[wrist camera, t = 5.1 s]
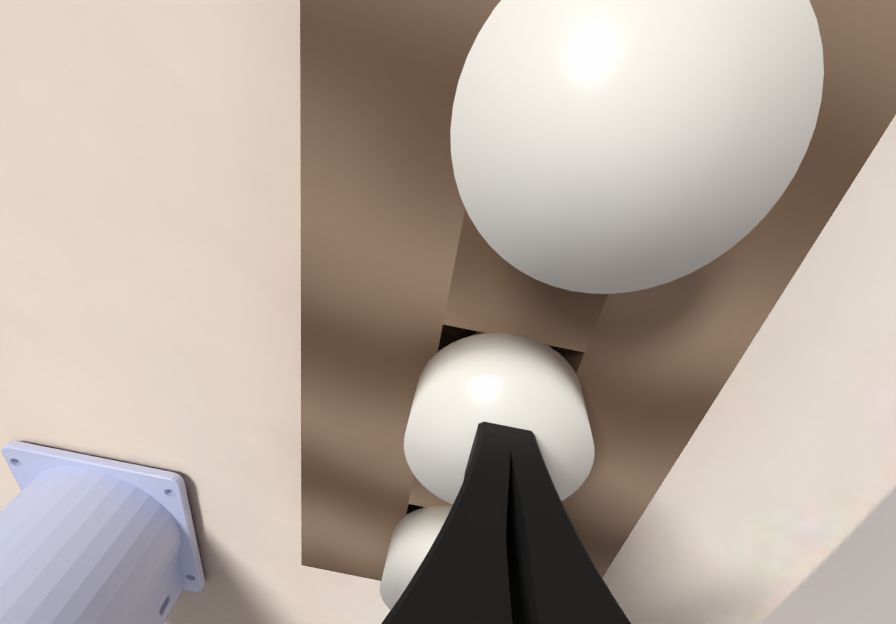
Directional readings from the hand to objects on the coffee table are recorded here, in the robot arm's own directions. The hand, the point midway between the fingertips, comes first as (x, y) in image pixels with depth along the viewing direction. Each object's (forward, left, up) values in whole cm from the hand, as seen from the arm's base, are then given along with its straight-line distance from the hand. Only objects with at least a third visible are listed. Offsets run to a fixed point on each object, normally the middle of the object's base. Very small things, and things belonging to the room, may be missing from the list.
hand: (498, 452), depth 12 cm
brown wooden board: (0, 0, -4) cm, 4 cm away
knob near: (+8, 0, -2) cm, 8 cm away
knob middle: (0, 0, -4) cm, 4 cm away
